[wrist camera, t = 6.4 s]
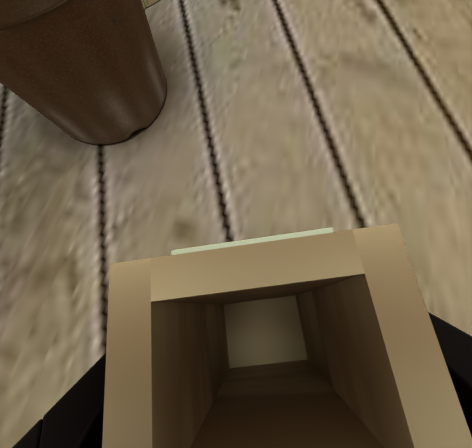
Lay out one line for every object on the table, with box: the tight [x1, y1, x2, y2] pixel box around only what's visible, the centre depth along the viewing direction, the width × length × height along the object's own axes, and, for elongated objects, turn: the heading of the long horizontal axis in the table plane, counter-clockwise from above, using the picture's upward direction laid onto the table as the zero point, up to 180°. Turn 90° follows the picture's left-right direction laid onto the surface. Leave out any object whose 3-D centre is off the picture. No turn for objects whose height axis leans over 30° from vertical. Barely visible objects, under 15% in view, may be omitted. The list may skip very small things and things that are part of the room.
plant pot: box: [0, 0, 167, 144], centre depth 20 cm, size 16×16×16 cm
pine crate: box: [102, 223, 472, 448], centre depth 9 cm, size 5×5×10 cm
